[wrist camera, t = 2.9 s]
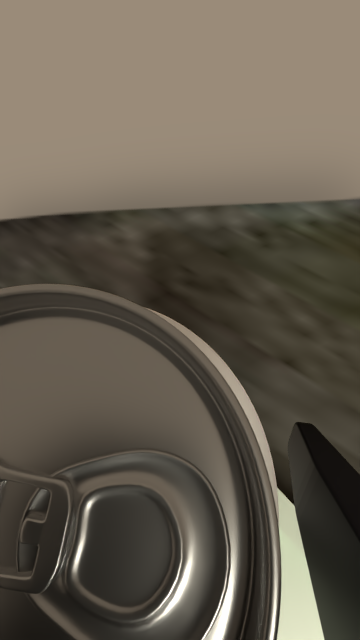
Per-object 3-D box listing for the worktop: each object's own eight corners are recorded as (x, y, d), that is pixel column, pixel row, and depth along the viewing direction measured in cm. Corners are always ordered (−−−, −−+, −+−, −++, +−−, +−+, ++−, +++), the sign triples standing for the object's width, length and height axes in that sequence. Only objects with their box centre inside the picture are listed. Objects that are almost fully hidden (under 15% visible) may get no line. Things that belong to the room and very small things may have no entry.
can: (215, 519, 13) (341, 1284, 2) (80, 495, 14) (-507, 935, 2) (227, 377, 15) (327, 277, 4) (108, 362, 16) (-137, 232, 4)
